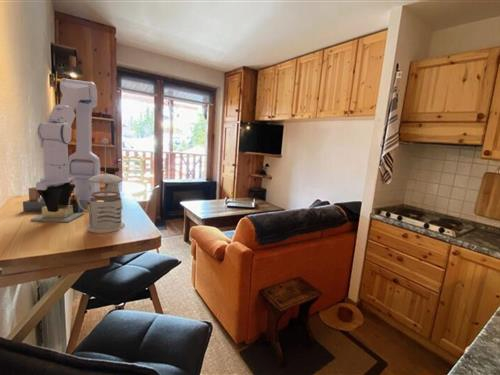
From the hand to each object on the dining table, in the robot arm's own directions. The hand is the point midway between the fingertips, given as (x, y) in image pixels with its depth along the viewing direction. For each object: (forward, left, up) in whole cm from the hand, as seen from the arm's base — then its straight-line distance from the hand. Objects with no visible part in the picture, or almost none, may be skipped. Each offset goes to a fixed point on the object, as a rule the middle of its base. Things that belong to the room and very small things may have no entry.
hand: (58, 209), depth 75 cm
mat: (0, 0, -3) cm, 3 cm away
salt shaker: (-5, +13, -3) cm, 15 cm away
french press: (+7, +15, -3) cm, 17 cm away
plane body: (-8, -5, -3) cm, 10 cm away
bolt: (-13, +9, -3) cm, 16 cm away
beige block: (0, 0, -2) cm, 2 cm away
